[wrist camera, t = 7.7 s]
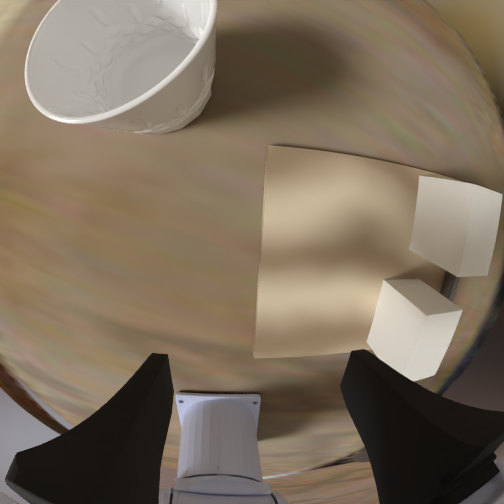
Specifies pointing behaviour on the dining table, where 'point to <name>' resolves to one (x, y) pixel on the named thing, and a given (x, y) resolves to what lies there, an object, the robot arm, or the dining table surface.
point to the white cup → (124, 63)
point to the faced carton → (456, 225)
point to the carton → (412, 327)
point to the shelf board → (333, 249)
